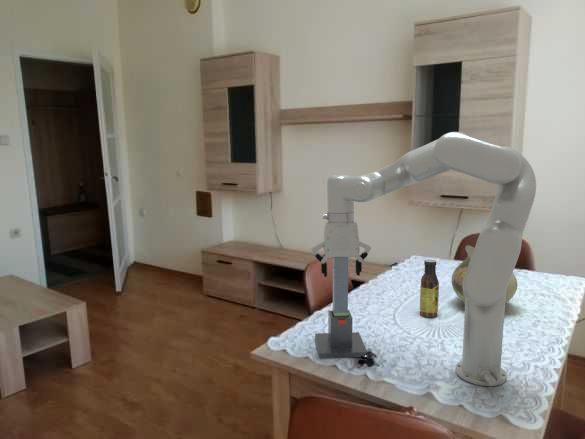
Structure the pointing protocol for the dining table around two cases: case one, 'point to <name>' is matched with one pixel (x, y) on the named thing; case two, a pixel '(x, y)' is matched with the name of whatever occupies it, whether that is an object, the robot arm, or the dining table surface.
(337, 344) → the jack base
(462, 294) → the pitcher
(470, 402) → the dining table surface
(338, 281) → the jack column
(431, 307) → the sauce bottle
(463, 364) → the robot arm
